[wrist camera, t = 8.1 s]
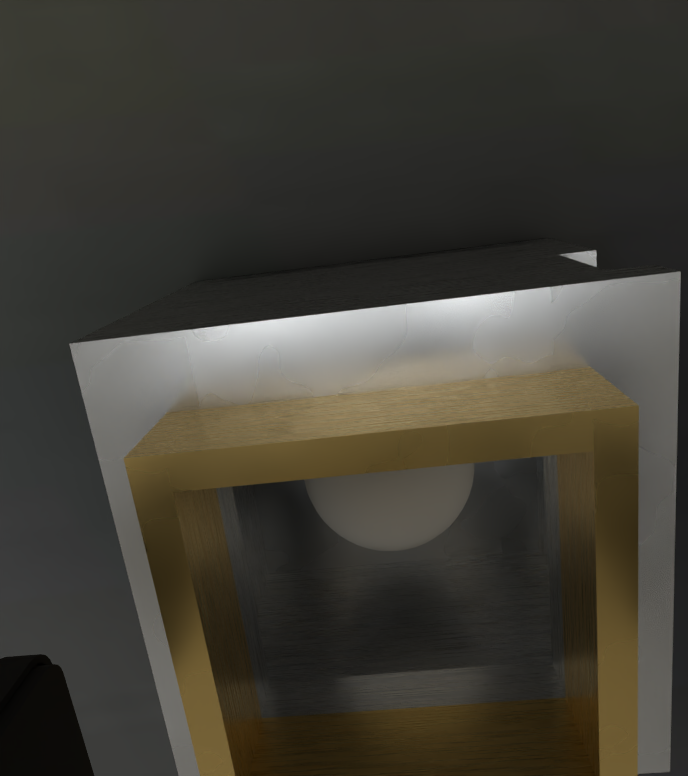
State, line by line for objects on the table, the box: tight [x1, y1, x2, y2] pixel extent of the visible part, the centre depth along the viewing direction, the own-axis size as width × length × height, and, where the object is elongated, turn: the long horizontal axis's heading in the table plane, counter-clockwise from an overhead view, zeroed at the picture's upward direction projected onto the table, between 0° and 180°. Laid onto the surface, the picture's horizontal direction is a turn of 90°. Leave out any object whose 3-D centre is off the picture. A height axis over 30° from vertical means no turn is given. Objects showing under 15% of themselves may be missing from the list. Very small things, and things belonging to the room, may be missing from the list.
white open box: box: [70, 238, 681, 776], centre depth 15 cm, size 10×10×10 cm
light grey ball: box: [304, 463, 474, 551], centre depth 17 cm, size 4×4×4 cm
